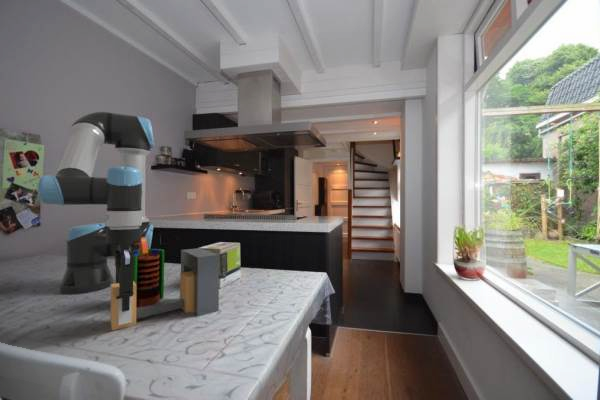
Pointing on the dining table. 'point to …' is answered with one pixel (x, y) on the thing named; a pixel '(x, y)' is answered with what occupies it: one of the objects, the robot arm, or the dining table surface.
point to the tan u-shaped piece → (184, 302)
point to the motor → (148, 274)
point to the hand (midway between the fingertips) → (123, 319)
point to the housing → (203, 278)
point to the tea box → (227, 261)
